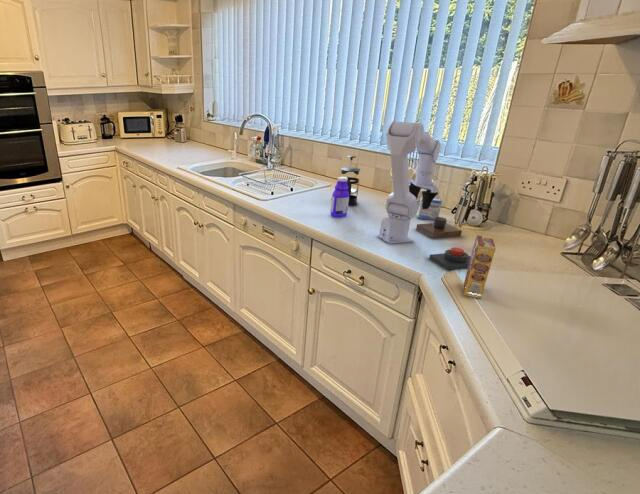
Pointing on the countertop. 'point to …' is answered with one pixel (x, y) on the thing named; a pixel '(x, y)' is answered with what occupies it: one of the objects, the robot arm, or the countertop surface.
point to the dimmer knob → (439, 222)
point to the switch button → (457, 251)
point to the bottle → (340, 198)
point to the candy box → (479, 265)
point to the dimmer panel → (438, 231)
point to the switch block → (451, 260)
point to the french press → (351, 182)
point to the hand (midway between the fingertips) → (418, 205)
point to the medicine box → (429, 209)
